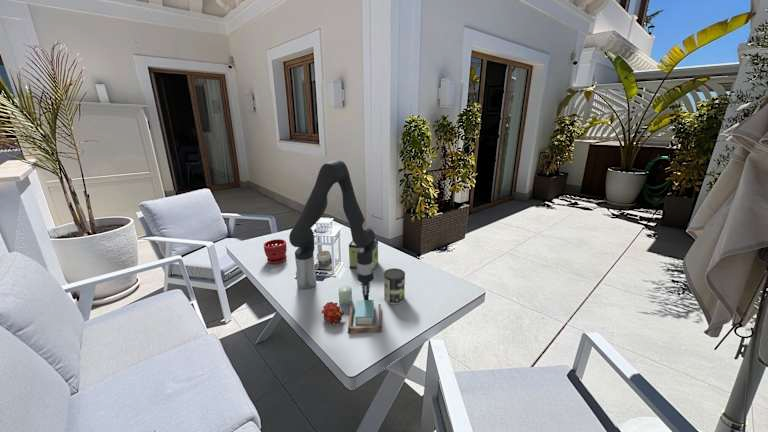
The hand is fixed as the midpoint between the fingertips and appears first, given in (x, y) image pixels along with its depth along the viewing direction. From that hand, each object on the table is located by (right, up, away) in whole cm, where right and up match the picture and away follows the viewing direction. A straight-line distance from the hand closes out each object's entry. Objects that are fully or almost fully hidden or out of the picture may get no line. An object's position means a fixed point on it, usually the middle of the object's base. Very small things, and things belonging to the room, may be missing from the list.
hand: (366, 301), depth 143 cm
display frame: (0, -5, -10) cm, 11 cm away
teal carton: (0, -5, -7) cm, 8 cm away
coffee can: (+14, 0, +5) cm, 15 cm away
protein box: (-3, +11, +37) cm, 39 cm away
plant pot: (-59, +13, +44) cm, 75 cm away
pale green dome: (-10, -1, +3) cm, 11 cm away
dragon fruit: (-14, -5, -9) cm, 18 cm away
